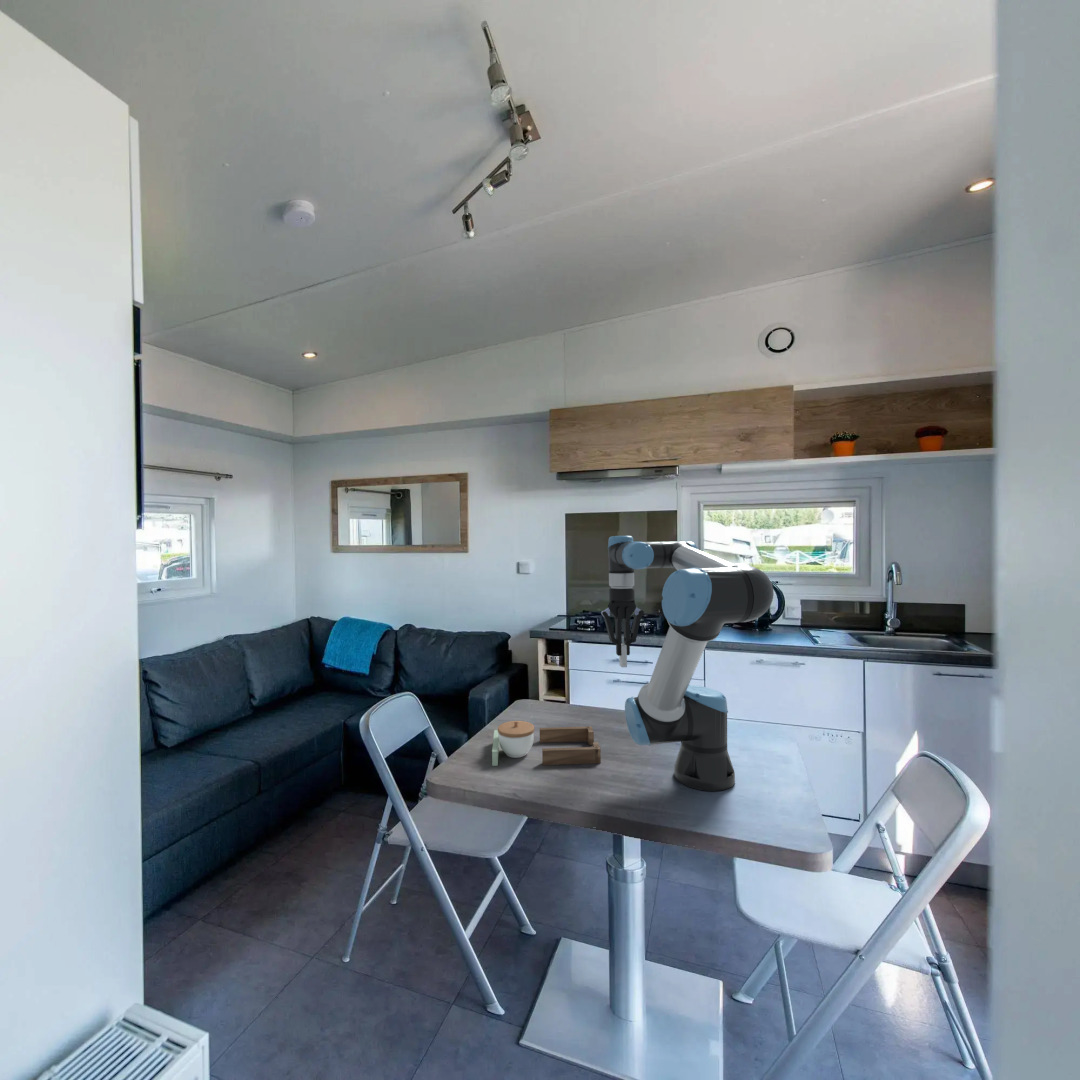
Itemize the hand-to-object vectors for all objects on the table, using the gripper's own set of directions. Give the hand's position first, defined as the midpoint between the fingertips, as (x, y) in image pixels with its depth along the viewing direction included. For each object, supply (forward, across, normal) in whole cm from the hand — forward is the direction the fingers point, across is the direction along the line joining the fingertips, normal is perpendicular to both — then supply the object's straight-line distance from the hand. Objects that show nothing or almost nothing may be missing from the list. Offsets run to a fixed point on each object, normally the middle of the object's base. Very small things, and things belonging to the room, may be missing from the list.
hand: (623, 666), depth 155 cm
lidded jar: (+25, +32, -2) cm, 41 cm away
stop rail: (+24, +38, -2) cm, 45 cm away
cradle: (+24, +17, -1) cm, 30 cm away
